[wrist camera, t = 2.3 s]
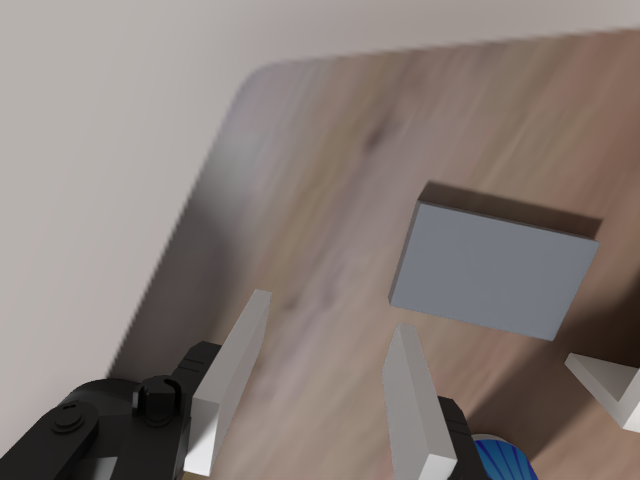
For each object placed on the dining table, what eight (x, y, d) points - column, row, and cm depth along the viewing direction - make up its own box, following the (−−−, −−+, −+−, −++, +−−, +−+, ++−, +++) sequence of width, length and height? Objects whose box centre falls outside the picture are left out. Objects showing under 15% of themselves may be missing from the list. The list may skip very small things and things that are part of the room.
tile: (387, 294, 32) (389, 305, 30) (416, 198, 29) (420, 203, 27) (540, 328, 32) (552, 341, 30) (584, 234, 29) (600, 242, 27)
